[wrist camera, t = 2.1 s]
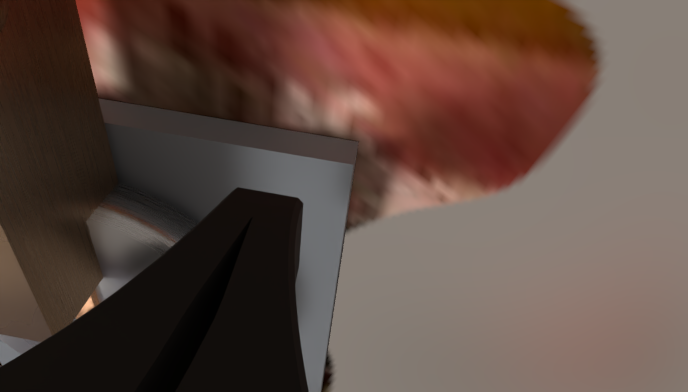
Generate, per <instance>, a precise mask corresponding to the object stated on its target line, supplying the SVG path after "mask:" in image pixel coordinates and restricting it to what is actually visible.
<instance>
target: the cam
mask: <svg viewBox="0 0 688 392" xmlns="http://www.w3.org/2000/svg"><path fill="white" fill-rule="evenodd" d="M196 225H197V223H196V222H195V221H193V220H192V219H191V218H190V217H188V216H187V215H185V214H184V213H182V212H180V211H179V210H177V209H176V208H174V207H173V206H171V205H169V204H167V203H166V202H164V201H162V200H160V199H158V198H156V197H154V196H152V195H150V194H148V193H145V192H143V191H141V190H138V189H136V188H134V187H131V186H128V185H125V184H122V183H119V182H118V178H117V174H116V170H115V166H114V162H113V157H112V153H111V149H110V145H109V141H108V136H107V132H106V128H105V124H104V119H103V115H102V111H101V107H100V103H99V98H98V94H97V90H96V86H95V82H94V77H93V73H92V69H91V65H90V60H89V56H88V52H87V48H86V44H85V39H84V35H83V31H82V27H81V23H80V18H79V14H78V10H77V6H76V1H75V0H0V340H1V341H3V342H4V343H5V344H7V345H8V346H10V347H11V348H12V349H14V350H15V351H17V352H19V353H20V354H23V353H24V352H26V351H28V350H29V349H31V348H32V347H34V346H36V345H37V344H39V343H41V342H42V341H44V340H45V339H47V338H49V337H50V336H52V335H53V334H55V333H57V332H58V331H60V330H61V329H63V328H64V327H66V326H67V325H69V324H70V323H72V322H73V321H75V320H76V319H78V318H79V317H81V316H82V315H84V314H85V313H87V312H88V311H90V310H91V309H92V308H94V307H95V306H97V305H98V304H100V303H101V302H102V301H104V300H105V299H106V298H108V297H109V296H111V295H112V294H113V293H115V292H116V291H117V290H119V289H120V288H121V287H122V286H124V285H125V284H126V283H128V282H129V281H130V280H131V279H133V278H134V277H135V276H137V275H138V274H139V273H140V272H142V271H143V270H144V269H145V268H147V267H148V266H149V265H151V264H152V263H153V262H154V261H155V260H157V259H158V258H159V257H160V256H162V255H163V254H164V253H165V252H166V251H167V250H168V249H170V248H171V247H172V246H173V245H174V244H175V243H177V242H178V241H179V240H180V239H181V238H182V237H183V236H185V235H186V234H187V233H188V232H189V231H190V230H191V229H192V228H194V227H195V226H196Z"/></svg>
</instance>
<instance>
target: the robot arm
mask: <svg viewBox="0 0 688 392" xmlns="http://www.w3.org/2000/svg"><path fill="white" fill-rule="evenodd" d="M302 217H303V202H302V201H301V200H300V199H299V198H297V197H291V196H286V195H280V194H274V193H268V192H263V191H257V190H251V189H245V188H240V187H237V188H236V189H234V190H233V191H232V192H231V193H230V194H229V195H228V196H226V197H225V198H224V199H223V200H222V201H221V202H220V203H219V204H218V205H217V206H216V207H215V208H214V209H213V210H212V211H211V212H210V213H209V214H208V215H207V216H206V217H204V218H203V219H202V220H201V221H200V222H199V223H198V224H197V225H196V226H195V227H194V228H192V229H191V230H190V231H189V232H188V233H187V234H186V235H185V236H183V237H182V238H181V239H180V240H179V241H178V242H177V243H175V244H174V245H173V246H172V247H171V248H170V249H168V250H167V251H166V252H165V253H164V254H163V255H162V256H160V257H159V258H158V259H157V260H155V261H154V262H153V263H152V264H151V265H149V266H148V267H147V268H145V269H144V270H143V271H142V272H140V273H139V274H138V275H137V276H135V277H134V278H133V279H131V280H130V281H129V282H128V283H126V284H125V285H124V286H122V287H121V288H120V289H119V290H117V291H116V292H115V293H113V294H112V295H111V296H109V297H108V298H106V299H105V300H104V301H102V302H101V303H100V304H98V305H97V306H95V307H94V308H92V309H91V310H90V311H88V312H87V313H85V314H84V315H82V316H81V317H79V318H78V319H76V320H75V321H73V322H72V323H70V324H69V325H67V326H66V327H64V328H63V329H61V330H60V331H58V332H57V333H55V334H53V335H52V336H50V337H49V338H47V339H45V340H44V341H42V342H41V343H39V344H37V345H36V346H34V347H32V348H31V349H29V350H28V351H26V352H24V353H23V354H21V355H20V356H18V357H16V358H15V359H13V360H11V361H10V362H8V363H6V364H4V365H3V366H0V392H309V390H308V385H307V379H306V373H305V367H304V361H303V355H302V348H301V341H300V333H299V324H298V315H297V305H296V290H295V283H296V278H297V273H298V269H299V260H300V246H301V231H302Z"/></svg>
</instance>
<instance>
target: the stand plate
mask: <svg viewBox="0 0 688 392" xmlns="http://www.w3.org/2000/svg"><path fill="white" fill-rule="evenodd" d="M99 103H100V107H101V111H102V115H103V119H104V124H105V128H106V132H107V136H108V141H109V145H110V149H111V153H112V157H113V162H114V166H115V170H116V174H117V178H118V182H119V183H122V184H125V185H128V186H131V187H134V188H136V189H138V190H141V191H143V192H145V193H148V194H150V195H152V196H154V197H156V198H158V199H160V200H162V201H164V202H166V203H167V204H169V205H171V206H173V207H174V208H176V209H177V210H179V211H180V212H182V213H184V214H185V215H187V216H188V217H190V218H191V219H192V220H193V221H195V222H196V223H197V224H198V223H199V222H200V221H201V220H202V219H203V218H204V217H206V216H207V215H208V214H209V213H210V212H211V211H212V210H213V209H214V208H215V207H216V206H217V205H218V204H219V203H220V202H221V201H222V200H223V199H224V198H225V197H226V196H228V195H229V194H230V193H231V192H232V191H233V190H234V189H236V188H237V187H240V188H245V189H251V190H257V191H263V192H268V193H274V194H280V195H286V196H291V197H297V198H299V199H300V200H301V201H302V202H303V217H302V231H301V246H300V260H299V269H298V273H297V278H296V283H295V290H296V305H297V315H298V324H299V333H300V341H301V348H302V355H303V361H304V367H305V373H306V379H307V385H308V390H309V392H322V385H323V379H324V372H325V365H326V358H327V352H328V345H329V338H330V332H331V325H332V318H333V311H334V304H335V298H336V291H337V283H338V277H339V270H340V264H341V257H342V251H343V244H344V237H345V231H346V224H347V217H348V210H349V204H350V197H351V190H352V183H353V177H354V170H355V163H356V157H357V150H358V143H359V142H357V141H351V140H345V139H339V138H333V137H327V136H321V135H315V134H309V133H303V132H297V131H291V130H285V129H279V128H273V127H267V126H261V125H255V124H249V123H243V122H237V121H231V120H225V119H219V118H213V117H207V116H201V115H195V114H189V113H183V112H177V111H171V110H165V109H159V108H153V107H147V106H141V105H135V104H129V103H124V102H118V101H112V100H106V99H100V98H99ZM20 355H21V354H20V353H19V352H17V351H15V350H14V349H12V348H11V347H10V346H8V345H7V344H5V343H4V342H3V341H1V340H0V363H1V364H2V366H3V365H4V364H6V363H8V362H10V361H11V360H13V359H15V358H16V357H18V356H20Z"/></svg>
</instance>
